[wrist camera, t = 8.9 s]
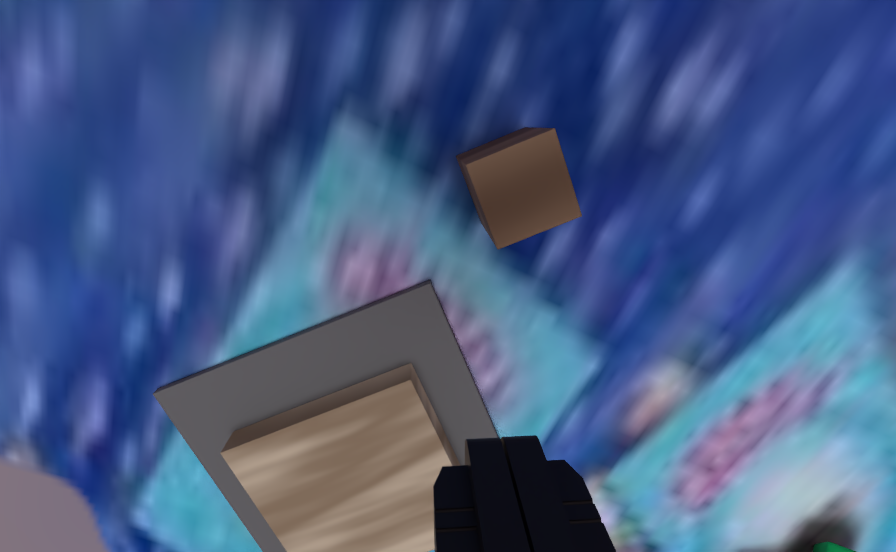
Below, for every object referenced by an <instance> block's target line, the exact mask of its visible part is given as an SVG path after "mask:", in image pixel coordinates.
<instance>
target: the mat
mask: <svg viewBox="0 0 896 552" xmlns="http://www.w3.org/2000/svg"><path fill="white" fill-rule="evenodd" d="M409 363H411V364H412V366H413V368H414V370H415V372H416V374H417V376H418V378H419V380H420V382H421V384H422V386H423V389H424V391H425V393H426V395H427V397H428V399H429V401H430V403H431V405H432V407H433V409H434V411H435V414H436V416H437V418H438V420H439V422H440V424H441V426H442V428H443V430H444V432H445V434H446V436H447V439H448V441H449V443H450V445H451V447H452V449H453V451H454V453H455V455H456V457H457V459H458V461H459V463H460V465H465V440H466V439H477V438H497V437H498V434H497V432H496V430H495V427H494V425H493V423H492V421H491V418H490V416H489V414H488V411H487V409H486V407H485V405H484V402H483V400H482V398H481V395H480V393H479V391H478V389H477V386H476V384H475V382H474V379H473V377H472V375H471V373H470V370H469V368H468V366H467V363H466V361H465V359H464V357H463V354H462V352H461V350H460V347H459V345H458V343H457V341H456V338H455V336H454V334H453V331H452V329H451V327H450V325H449V322H448V320H447V318H446V315H445V313H444V311H443V309H442V306H441V304H440V302H439V299H438V297H437V295H436V293H435V290H434V288H433V286H432V283H431V281H430V280H429V281H426V282H424V283H421V284H419V285H416V286H414V287H411V288H409V289H406V290H404V291H401V292H399V293H396V294H394V295H391V296H389V297H386V298H384V299H381V300H379V301H376V302H374V303H371V304H369V305H366V306H364V307H361V308H359V309H356V310H354V311H351V312H349V313H346V314H344V315H341V316H339V317H336V318H334V319H331V320H329V321H326V322H324V323H321V324H319V325H316V326H314V327H311V328H309V329H306V330H303V331H301V332H298V333H296V334H293V335H291V336H288V337H286V338H283V339H281V340H278V341H276V342H273V343H271V344H268V345H266V346H263V347H261V348H258V349H256V350H253V351H251V352H248V353H246V354H243V355H241V356H238V357H236V358H233V359H231V360H228V361H226V362H223V363H221V364H218V365H216V366H213V367H211V368H208V369H206V370H203V371H201V372H198V373H196V374H193V375H191V376H188V377H186V378H183V379H181V380H178V381H176V382H173V383H171V384H168V385H166V386H163V387H161V388H158V389H157V390H156V391H155V392H154V393H153V395H154V396H155V398H156V399H157V401H158V402H159V404H160V405H161V406H162V408H163V409H164V411H165V412H166V414H167V415H168V416H169V418H170V419H171V421H172V422H173V424H174V425H175V426H176V428H177V429H178V431H179V432H180V434H181V435H182V437H183V438H184V439H185V441H186V442H187V444H188V445H189V447H190V448H191V449H192V451H193V452H194V454H195V455H196V457H197V458H198V459H199V461H200V462H201V464H202V465H203V467H204V468H205V469H206V471H207V472H208V474H209V475H210V477H211V478H212V479H213V481H214V482H215V484H216V485H217V487H218V488H219V489H220V491H221V492H222V494H223V495H224V497H225V498H226V499H227V501H228V502H229V504H230V505H231V507H232V508H233V510H234V511H235V512H236V514H237V515H238V517H239V518H240V520H241V521H242V522H243V524H244V525H245V527H246V528H247V530H248V531H249V532H250V534H251V535H252V537H253V538H254V540H255V541H256V542H257V544H258V545H259V547H260V548H261V550H262V551H263V552H287V551H286V550H285V548H284V547H283V545H282V544H281V542H280V541H279V539H278V538H277V536H276V535H275V533H274V532H273V530H272V529H271V527H270V526H269V524H268V523H267V521H266V520H265V519H264V517H263V516H262V514H261V513H260V511H259V510H258V508H257V507H256V505H255V504H254V502H253V501H252V499H251V498H250V496H249V495H248V493H247V492H246V490H245V489H244V487H243V486H242V485H241V483H240V482H239V480H238V479H237V477H236V476H235V474H234V473H233V471H232V470H231V468H230V467H229V465H228V464H227V462H226V461H225V459H224V458H223V456H222V455H221V454H220V453H221V451H222V449H223V448H224V446H225V444H226V443H227V441H228V439H229V438H230V436H231V435H232V433H233V432H234V431H237V430H239V429H242V428H244V427H247V426H249V425H252V424H255V423H257V422H260V421H262V420H265V419H267V418H270V417H273V416H275V415H278V414H280V413H283V412H285V411H288V410H291V409H293V408H296V407H298V406H301V405H304V404H306V403H309V402H311V401H314V400H316V399H319V398H322V397H324V396H327V395H329V394H332V393H334V392H337V391H340V390H342V389H345V388H347V387H350V386H352V385H355V384H358V383H360V382H363V381H365V380H368V379H371V378H373V377H376V376H378V375H381V374H383V373H386V372H389V371H391V370H394V369H396V368H399V367H401V366H404V365H407V364H409Z"/></svg>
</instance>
